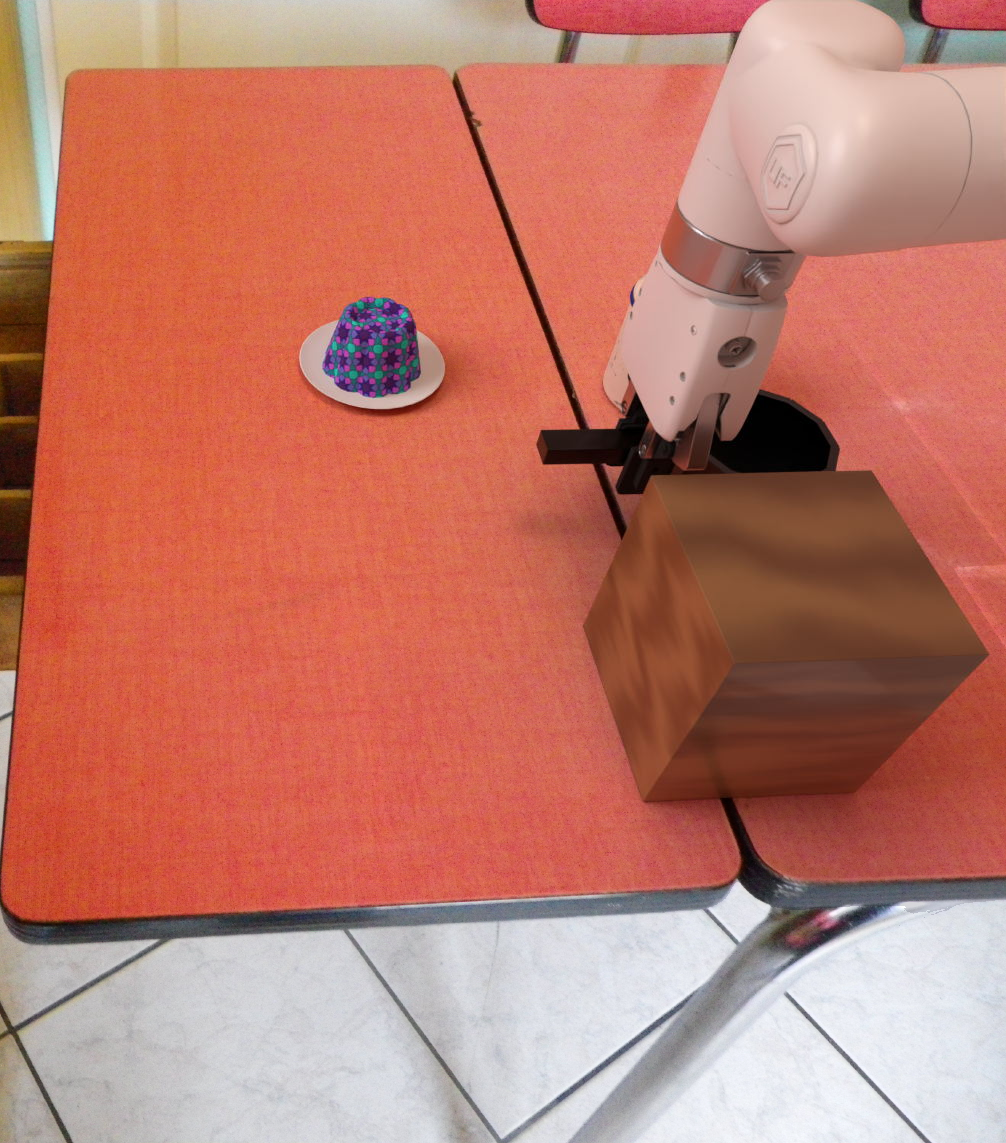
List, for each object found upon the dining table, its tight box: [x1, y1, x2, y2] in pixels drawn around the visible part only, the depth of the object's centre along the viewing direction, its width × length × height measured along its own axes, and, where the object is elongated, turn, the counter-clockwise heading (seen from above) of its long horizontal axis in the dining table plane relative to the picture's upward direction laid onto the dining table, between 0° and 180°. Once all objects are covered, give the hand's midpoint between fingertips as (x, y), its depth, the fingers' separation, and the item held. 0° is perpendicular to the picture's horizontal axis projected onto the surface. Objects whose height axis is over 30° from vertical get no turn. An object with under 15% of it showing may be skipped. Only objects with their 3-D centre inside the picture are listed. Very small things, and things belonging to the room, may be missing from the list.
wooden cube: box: [582, 469, 990, 803], centre depth 61 cm, size 13×13×14 cm
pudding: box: [298, 296, 446, 410], centre depth 85 cm, size 12×12×5 cm
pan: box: [535, 388, 841, 475], centre depth 72 cm, size 20×10×5 cm, turn 93°
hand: (632, 475), depth 73 cm, fingers closed on pan
